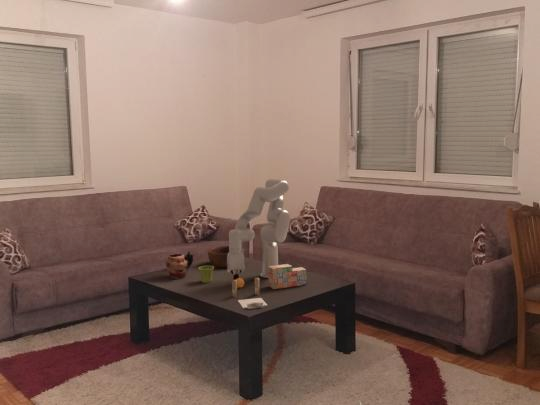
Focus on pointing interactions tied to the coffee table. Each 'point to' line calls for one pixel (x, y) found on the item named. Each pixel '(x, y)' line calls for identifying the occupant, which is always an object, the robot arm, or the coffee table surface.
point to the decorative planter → (176, 265)
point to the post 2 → (257, 286)
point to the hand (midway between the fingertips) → (236, 281)
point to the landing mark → (244, 302)
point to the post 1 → (234, 288)
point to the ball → (240, 282)
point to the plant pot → (206, 273)
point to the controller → (188, 259)
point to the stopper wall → (255, 305)
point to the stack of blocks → (286, 276)
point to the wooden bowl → (219, 256)
